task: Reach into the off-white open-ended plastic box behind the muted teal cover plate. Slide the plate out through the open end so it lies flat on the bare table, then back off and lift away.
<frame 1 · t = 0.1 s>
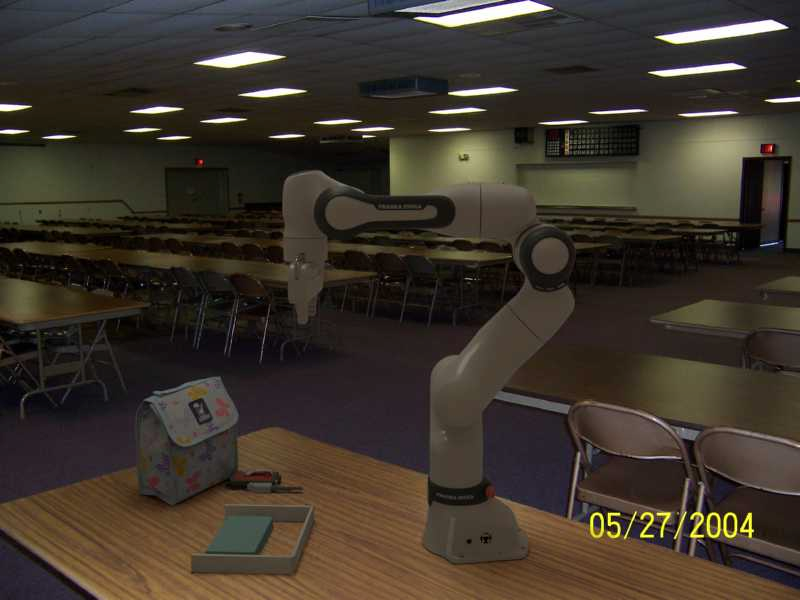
hand: (307, 319, 147), 48 cm above the table, tool pointing down, fingers open, 8 cm apart
cover plate: (241, 546, 152), on the table
open-ended box: (265, 544, 151), on the table
lunch bag: (191, 487, 181), on the table
walkie-talkie: (266, 488, 181), on the table
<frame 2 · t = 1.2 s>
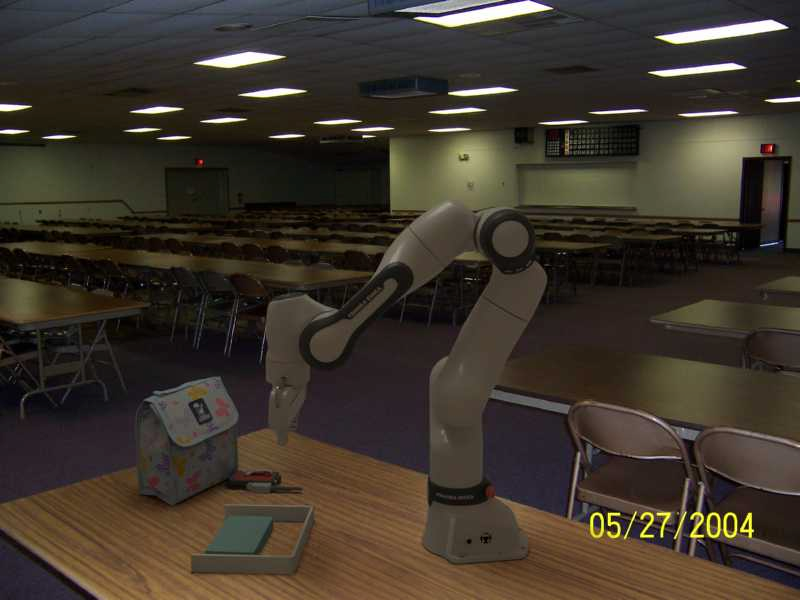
hand: (287, 437, 148), 24 cm above the table, tool pointing down, fingers open, 8 cm apart
nothing on the table moved.
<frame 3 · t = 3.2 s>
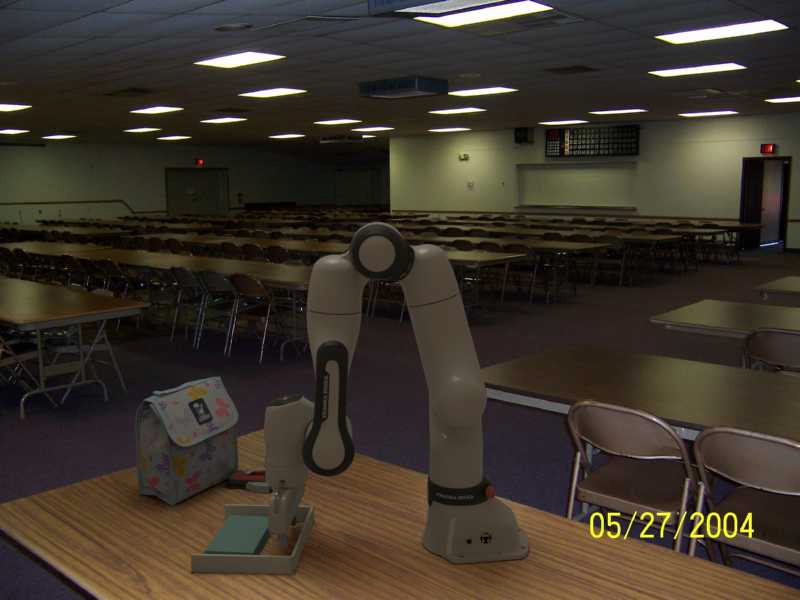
hand: (288, 534, 151), 2 cm above the table, tool pointing down, fingers open, 8 cm apart
nothing on the table moved.
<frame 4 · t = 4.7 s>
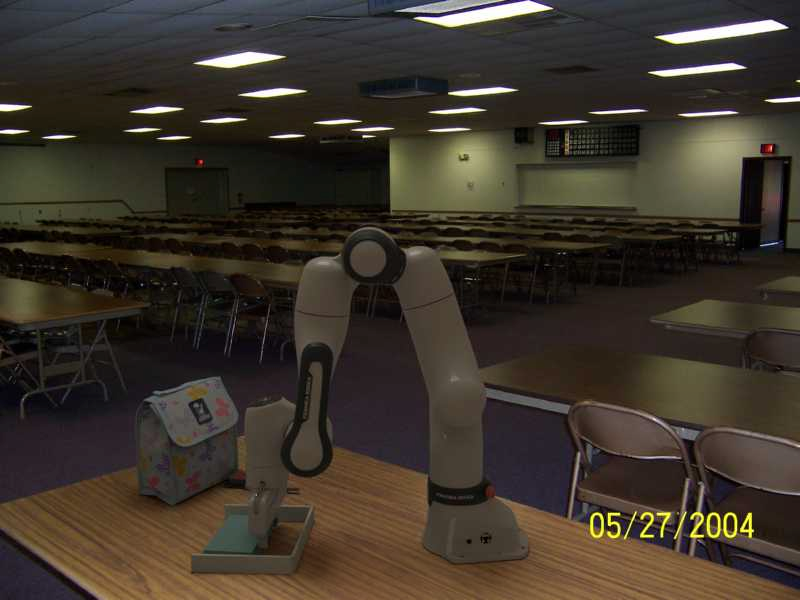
hand: (269, 535, 151), 2 cm above the table, tool pointing down, fingers open, 8 cm apart
cover plate: (240, 545, 152), on the table, touching gripper
everything else where it was.
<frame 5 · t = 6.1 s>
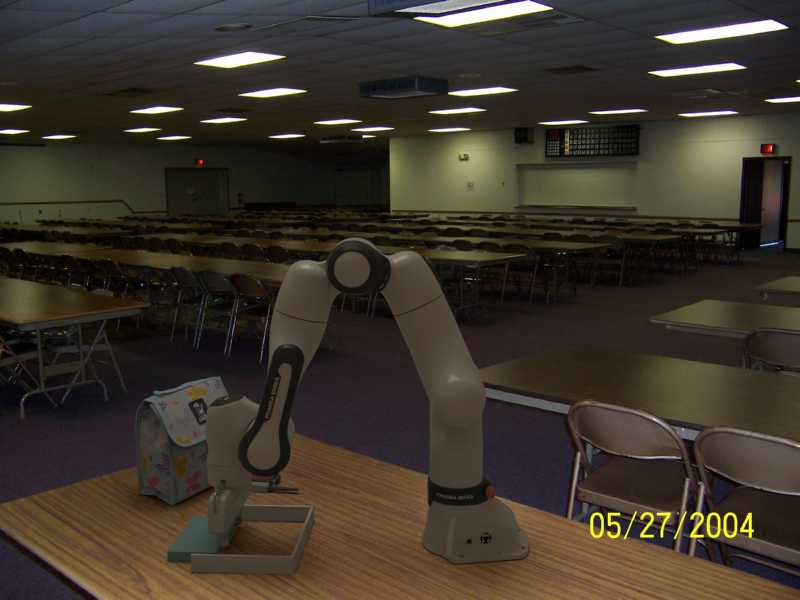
hand: (231, 534, 151), 2 cm above the table, tool pointing down, fingers open, 8 cm apart
cover plate: (205, 546, 152), on the table
everything else where it was.
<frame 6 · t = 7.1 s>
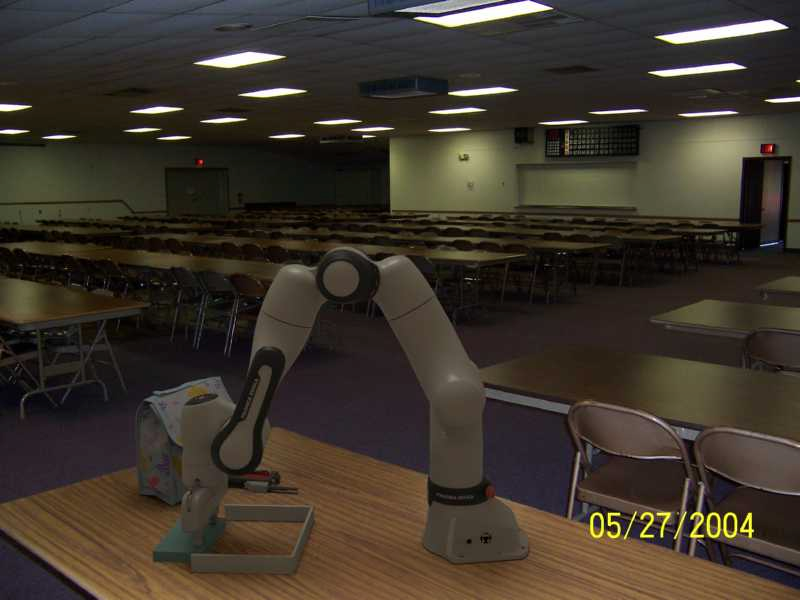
hand: (206, 533, 152), 2 cm above the table, tool pointing down, fingers open, 8 cm apart
cover plate: (191, 546, 152), on the table
everything else where it was.
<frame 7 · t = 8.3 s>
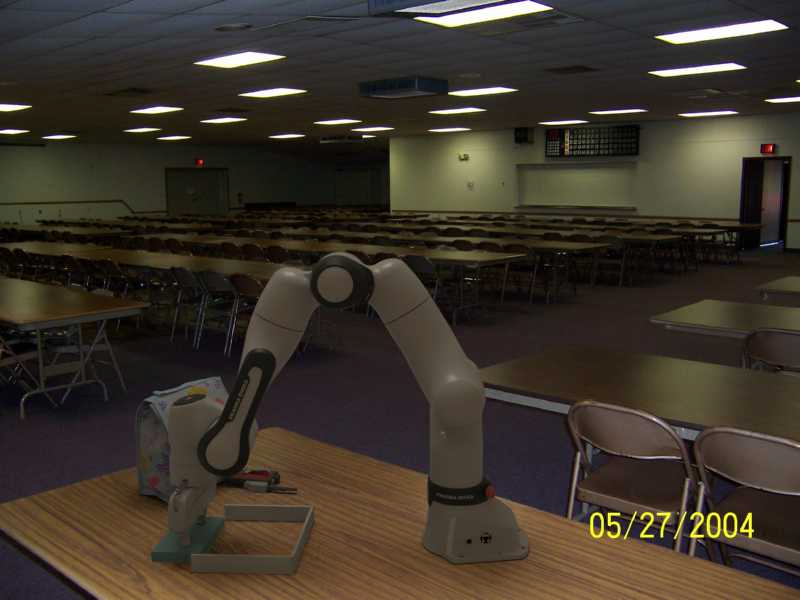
hand: (194, 533, 152), 2 cm above the table, tool pointing down, fingers open, 8 cm apart
cover plate: (190, 546, 152), on the table, touching gripper
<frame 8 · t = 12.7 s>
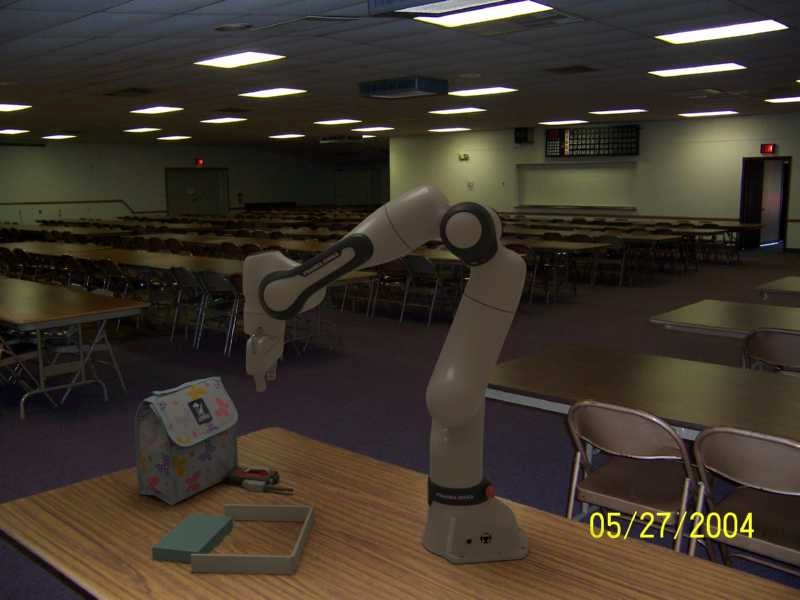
hand: (266, 385, 160), 31 cm above the table, tool pointing down, fingers open, 8 cm apart
cover plate: (194, 544, 152), on the table
at the end: cover plate inside the target area (6.7 cm from its centre), on the table; cover plate touching table; cover plate tilted 0° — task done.
